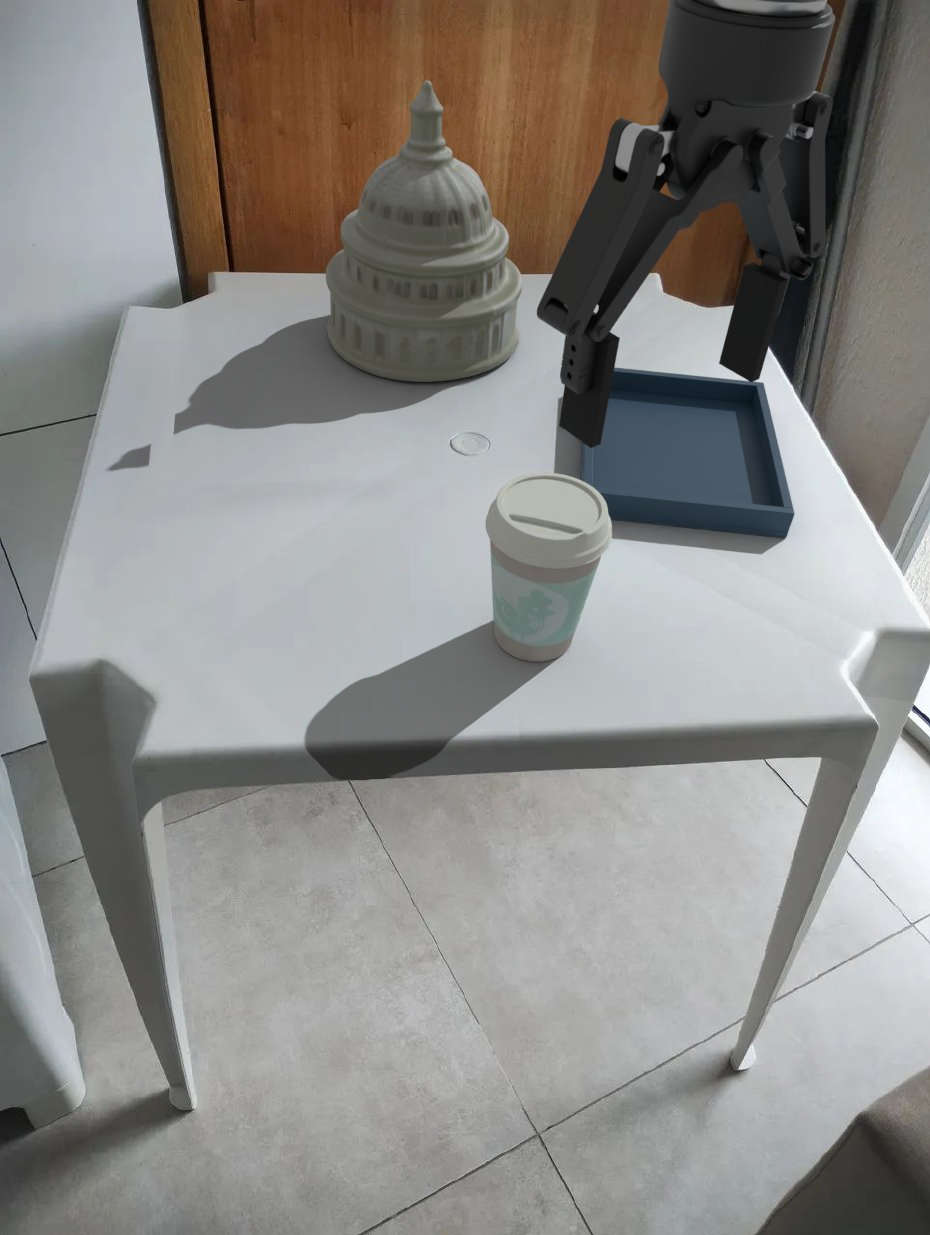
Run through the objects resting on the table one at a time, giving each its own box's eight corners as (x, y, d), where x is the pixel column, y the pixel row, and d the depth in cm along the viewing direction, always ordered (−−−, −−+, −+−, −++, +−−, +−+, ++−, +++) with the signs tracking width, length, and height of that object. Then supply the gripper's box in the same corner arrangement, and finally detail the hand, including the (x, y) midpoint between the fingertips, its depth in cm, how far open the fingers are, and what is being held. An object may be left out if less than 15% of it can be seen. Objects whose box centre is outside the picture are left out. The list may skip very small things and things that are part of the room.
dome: (565, 117, 84) (324, 115, 81) (534, 381, 101) (334, 388, 98) (517, 51, 99) (310, 47, 95) (497, 292, 116) (321, 296, 113)
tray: (786, 538, 85) (794, 513, 83) (579, 516, 85) (583, 491, 84) (756, 405, 101) (763, 382, 99) (582, 387, 101) (585, 364, 99)
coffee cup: (452, 627, 74) (460, 497, 66) (533, 581, 79) (551, 453, 71) (532, 694, 70) (552, 563, 62) (614, 641, 74) (643, 512, 66)
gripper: (854, -44, 53) (752, 325, 68) (489, -3, 42) (460, 433, 56) (979, -12, 49) (842, 373, 64) (613, 43, 37) (547, 501, 52)
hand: (663, 402), depth 60 cm, fingers open, 13 cm apart
